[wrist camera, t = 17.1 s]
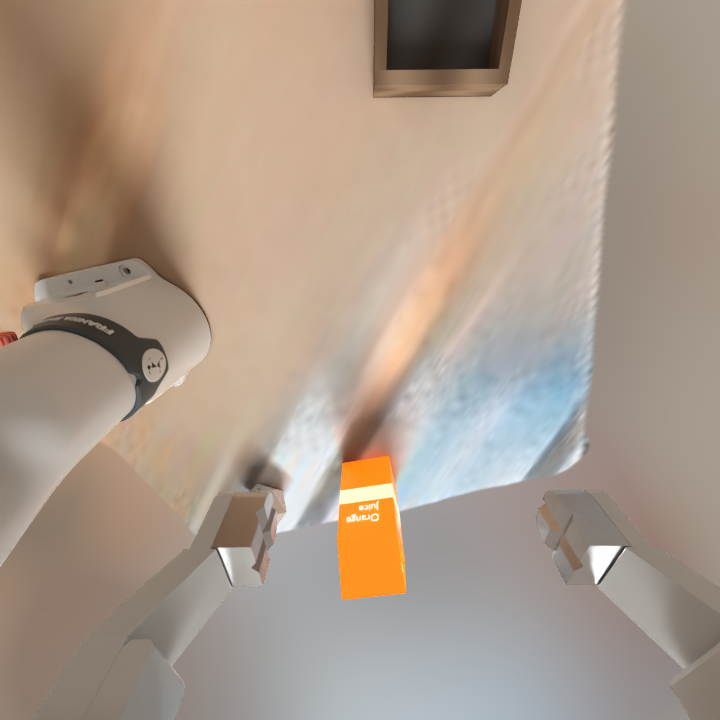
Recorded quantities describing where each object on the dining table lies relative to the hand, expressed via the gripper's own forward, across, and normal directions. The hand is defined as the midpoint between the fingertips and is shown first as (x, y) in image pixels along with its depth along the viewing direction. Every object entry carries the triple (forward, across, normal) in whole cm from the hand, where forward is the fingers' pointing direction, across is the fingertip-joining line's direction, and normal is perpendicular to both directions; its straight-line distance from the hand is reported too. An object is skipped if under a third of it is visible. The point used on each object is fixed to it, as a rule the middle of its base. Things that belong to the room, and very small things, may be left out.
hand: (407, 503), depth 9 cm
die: (+34, +20, +43) cm, 59 cm away
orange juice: (+34, 0, +38) cm, 51 cm away
